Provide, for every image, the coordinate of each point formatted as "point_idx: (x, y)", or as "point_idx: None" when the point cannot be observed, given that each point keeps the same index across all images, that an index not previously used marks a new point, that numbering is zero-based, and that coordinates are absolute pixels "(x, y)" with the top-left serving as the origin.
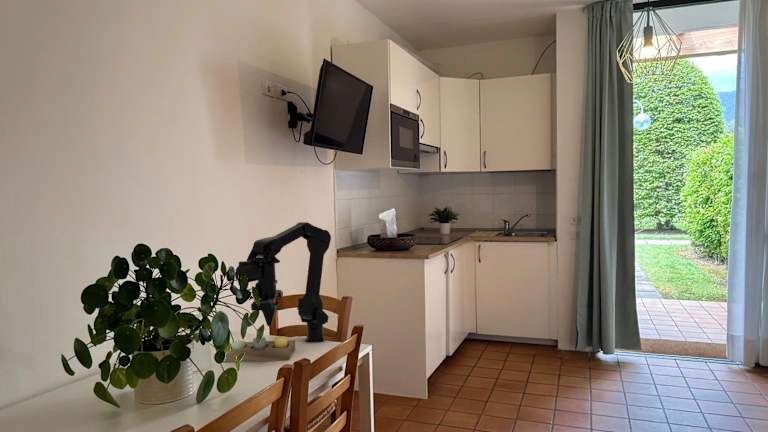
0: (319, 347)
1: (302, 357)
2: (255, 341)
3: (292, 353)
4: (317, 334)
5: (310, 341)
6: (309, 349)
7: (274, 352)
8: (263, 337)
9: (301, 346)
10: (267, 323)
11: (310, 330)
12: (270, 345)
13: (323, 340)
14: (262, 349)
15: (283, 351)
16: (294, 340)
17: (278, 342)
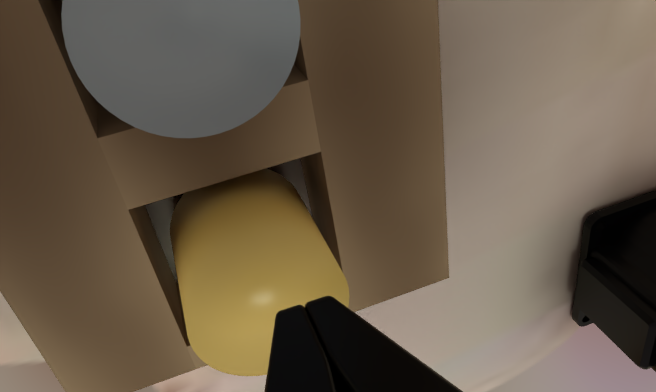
0: (441, 359)
1: (187, 384)
2: (65, 1)
3: None
4: (607, 335)
5: (581, 250)
6: (396, 327)
7: (9, 291)
8: (280, 67)
9: (479, 237)
10: (275, 364)
11: (641, 321)
12: (241, 134)
13: (579, 322)
14: (28, 122)
15: (55, 370)
16: (440, 279)
17: (183, 305)
